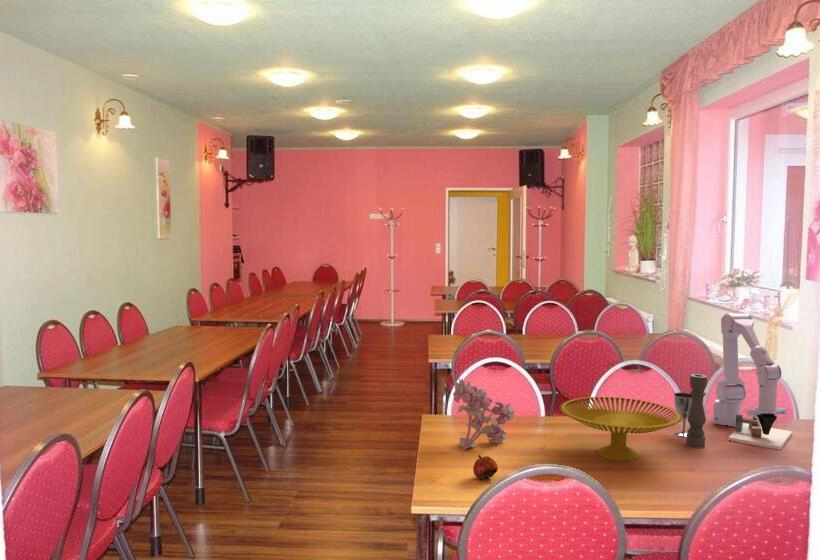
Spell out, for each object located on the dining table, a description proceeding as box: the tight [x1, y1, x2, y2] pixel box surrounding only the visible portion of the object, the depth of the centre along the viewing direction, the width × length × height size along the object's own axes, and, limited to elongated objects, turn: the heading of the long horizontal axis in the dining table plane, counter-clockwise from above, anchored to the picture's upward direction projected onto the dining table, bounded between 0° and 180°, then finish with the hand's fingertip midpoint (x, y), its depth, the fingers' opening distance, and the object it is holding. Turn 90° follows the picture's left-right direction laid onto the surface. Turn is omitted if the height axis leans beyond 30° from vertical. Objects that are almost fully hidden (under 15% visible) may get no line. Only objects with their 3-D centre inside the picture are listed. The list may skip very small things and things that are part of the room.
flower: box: [452, 378, 517, 452], centre depth 249 cm, size 20×22×25 cm
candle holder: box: [685, 373, 708, 448], centre depth 252 cm, size 6×6×25 cm
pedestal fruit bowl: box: [559, 396, 683, 461], centre depth 242 cm, size 40×40×15 cm
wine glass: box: [673, 391, 692, 438], centre depth 265 cm, size 8×8×15 cm
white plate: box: [728, 423, 793, 451], centre depth 263 cm, size 17×23×1 cm
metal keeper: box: [734, 413, 759, 432], centre depth 265 cm, size 8×2×6 cm, turn 53°
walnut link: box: [748, 418, 762, 438], centre depth 265 cm, size 15×4×3 cm, turn 157°
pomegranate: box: [472, 454, 499, 484], centre depth 217 cm, size 7×7×10 cm
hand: (765, 434), depth 259 cm, fingers closed
